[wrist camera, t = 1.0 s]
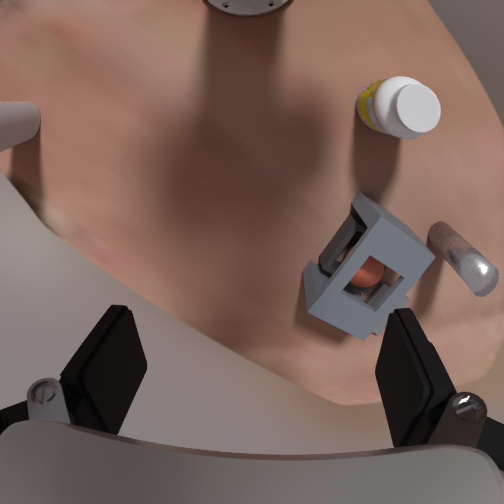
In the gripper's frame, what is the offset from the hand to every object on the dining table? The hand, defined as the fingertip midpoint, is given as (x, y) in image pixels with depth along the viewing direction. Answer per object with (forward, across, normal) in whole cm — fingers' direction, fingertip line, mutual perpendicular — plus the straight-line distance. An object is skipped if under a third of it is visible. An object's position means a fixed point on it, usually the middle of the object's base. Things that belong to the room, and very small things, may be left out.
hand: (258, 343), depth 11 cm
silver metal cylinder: (+33, -25, +8) cm, 42 cm away
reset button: (+29, -11, +11) cm, 33 cm away
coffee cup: (+32, +39, -12) cm, 52 cm away
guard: (+33, -11, +10) cm, 36 cm away
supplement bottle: (+32, -14, -9) cm, 36 cm away
